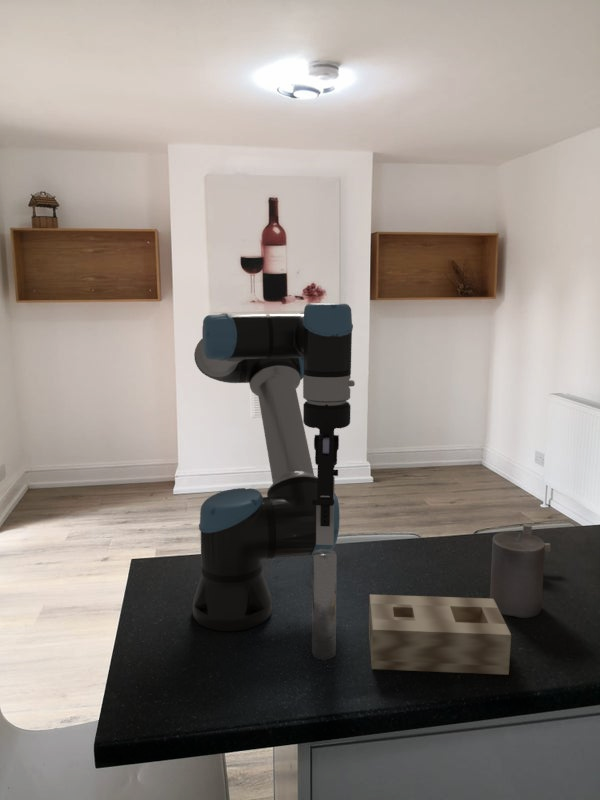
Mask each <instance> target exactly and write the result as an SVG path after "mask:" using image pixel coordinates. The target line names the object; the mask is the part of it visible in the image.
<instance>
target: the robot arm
mask: <svg viewBox="0 0 600 800" xmlns="http://www.w3.org/2000/svg"><path fill="white" fill-rule="evenodd" d="M303 309H304V310H303V312H299V313H264V314H263V313H262V314H260V313H258V314H249V313H248V314H247V313H246V314H245V313H244V314H242V313H241V314H239V313H238V314H237V313H236V314H234V313H233V314H232V313H227V312H226V313H225V312H224V313H220V314H208V315H206V316H205V317H204V318H203V320H202V338H201V339H200V340H199V341H198V343H197V344H196V346H195V348H194V353H193V354H194V362H195V365H196V367H197V369H198V370H199V371H200V372H201V373H202V374H203V375H205V376H206V377H208V378H210V379H213V380H216V381H219V382H223V383H228V384H244V383H245V384H249V389H250V390H251V393H252V394H254V395H256V396H257V397H258V401H259V409H260V414H261V415H260V416H261V420H262V425H263V432H264V437H265V439H264V440H265V443H266V444H265V445H266V450H267V451H266V452H267V457H268V461H269V463H268V464H269V468H270V475H271V480H272V484H271V485H270V487H268V489H267V491H266V496H263V495H262V493H261V492H260V491H259V490H257V489H254V488H245V487H241V488H240V487H239V488H232V489H231V488H230V489H226V490H222V491H220V492H217V493H215V494H212V495H211V496H210V497H208V498H206V499H205V500H204V502H203V503H202V505H201V507H200V512H199V513H200V514H199V524H198V529H199V532H200V573H201V575H200V579H199V580H198V581H199V582H198V584H197V588H196V592H195V594H194V597H193V599H192V600H193V601H192V616H193V619H194V620H195V621H196V623H198V624H199V625H200V626H202V627H204V628H206V629H210V630H214V631H220V632H237V631H239V632H240V631H244V630H248V629H253V628H254V627H258V626H260V625H261V624H262V623H264V622H266V621H267V620H268V619H269V618H270V617H271V615H272V612H273V609H272V608H273V607H272V606H273V605H272V604H273V603H272V602H273V600H272V595H271V592H270V589H269V587H268V585H267V581H266V579H265V575H264V572H263V560H269V559H270V560H271V559H279V558H281V559H283V558H292V557H304V556H312V557H313V552H314V551H316V550H320V549H328V550H332V551H333V550H334V548H335V546H336V544H337V541H338V538H339V537H338V536H339V531H340V530H339V529H340V504H339V499H338V496H337V495H336V493H335V486H336V484H335V482H336V481H335V477H339V469H335V466H336V465H337V464H338V451H339V449H340V448H339V447H340V443H339V442H340V439H339V438H340V437H339V436H340V435H339V434H335V430H336V429H344V428H347V427H348V426H349V425H350V424H351V407H352V406H351V404H350V402H349V401H348V400H350V399H351V387H355V384H356V383H355V380H354V379H353V380H352V379H351V374H352V344H353V343H352V341H353V340H352V339H353V337H352V335H353V329H354V324H353V318H352V317H353V314H352V308H351V306H350V305H349V304H348V303H341V302H340V303H337V302H324V303H323V302H317V303H316V302H315V303H314V302H311V303H307V304H306V305H305V306H304V308H303ZM301 381H302V382H303V383H302V384H303V385H302V388H303V389H302V397H303V399H304V400H306V401H305V402H304V403H303V410H301V407H300V402H299V401H300V400H299V397H298V393H297V388H299V386H300V384H301ZM301 411H303V412H301ZM302 413H303V416H302ZM305 426H306V427H308V428H312V429H318V430H319V432H318V433H319V434H314V438H313V447H314V450H315V452H314V453H315V454H314V455H315V456H314V461H315V465H316V466H317V476H315V473H314V469H313V465H312V464H313V462H312V458H311V454H310V449H309V444H308V439H307V435H306V431H305Z"/></svg>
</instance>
